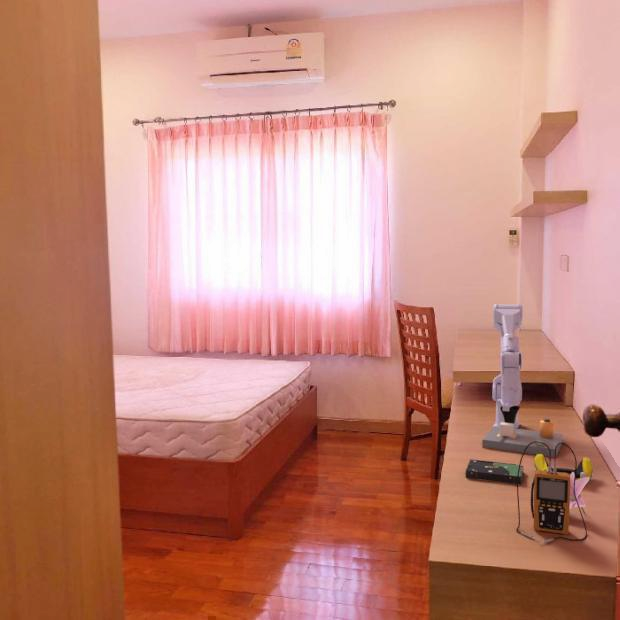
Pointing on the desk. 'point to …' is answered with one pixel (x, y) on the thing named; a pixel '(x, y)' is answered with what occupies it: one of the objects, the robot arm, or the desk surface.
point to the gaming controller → (581, 471)
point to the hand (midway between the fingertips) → (509, 428)
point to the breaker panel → (523, 442)
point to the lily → (577, 491)
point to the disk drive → (494, 471)
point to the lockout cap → (546, 428)
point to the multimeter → (550, 500)
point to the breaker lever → (506, 429)
